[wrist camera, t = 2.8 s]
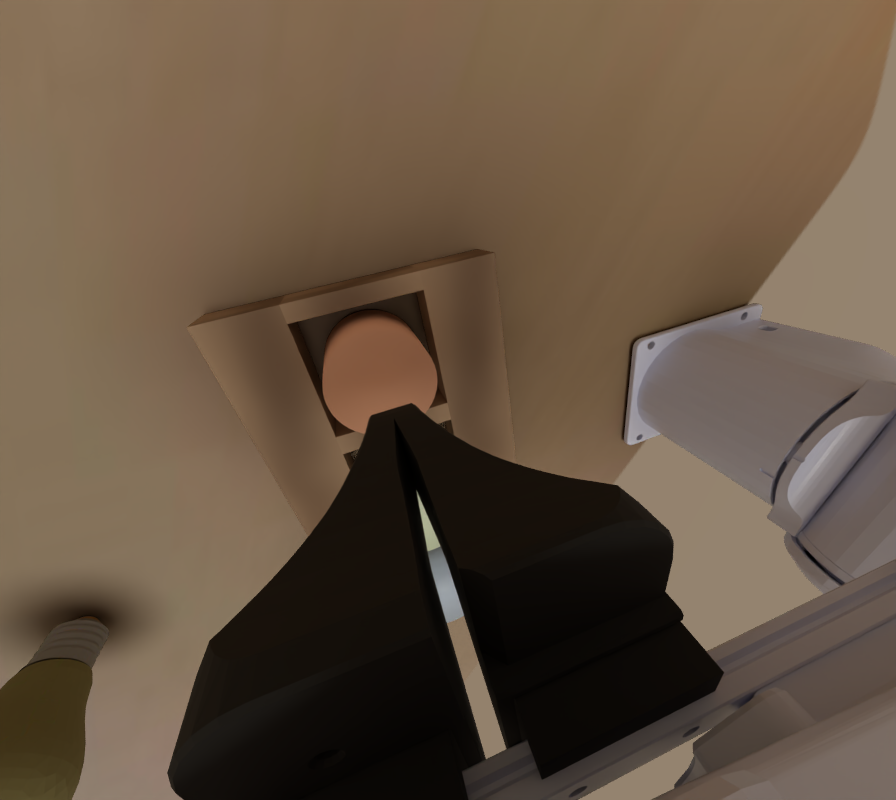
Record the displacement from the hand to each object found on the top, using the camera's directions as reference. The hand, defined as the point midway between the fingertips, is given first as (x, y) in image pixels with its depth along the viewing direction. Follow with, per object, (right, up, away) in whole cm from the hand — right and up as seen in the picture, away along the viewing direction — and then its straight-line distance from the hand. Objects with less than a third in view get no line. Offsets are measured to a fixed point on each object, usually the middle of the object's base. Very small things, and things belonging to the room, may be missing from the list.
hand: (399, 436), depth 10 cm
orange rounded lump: (-2, +3, +6) cm, 7 cm away
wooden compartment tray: (-1, -2, +10) cm, 10 cm away
